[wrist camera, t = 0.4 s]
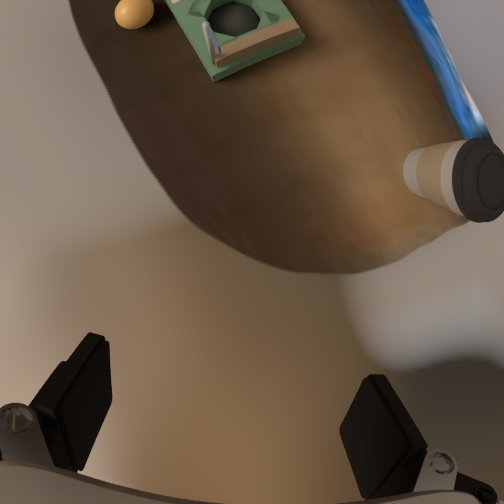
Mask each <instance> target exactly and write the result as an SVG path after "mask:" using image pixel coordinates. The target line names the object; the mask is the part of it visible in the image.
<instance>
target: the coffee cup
mask: <svg viewBox="0 0 504 504" xmlns="http://www.w3.org/2000/svg"><path fill="white" fill-rule="evenodd" d="M403 176H404V180H405V183H406V185H407V187H408V188H409V190H410V191H411V192H412V193H414V194H415V195H417V196H420V197H422V198H425V199H427V200H429V201H430V202H432V203H434V204H436V205H439V206H441V207H443V208H445V209H448V210H450V211H452V212H454V213H456V214H458V215H461V216H465V217H466V218H468V219H469V220H471V221H474V222H478V223H479V222H490V221H493V220H495V219H496V218H498V217H499V216H500V215H501V214H502V213H503V211H504V154H503V153H502V152H501V150H500V149H499V148H498V147H497V146H496V145H495V144H494V143H492V142H491V141H488V140H486V139H483V138H472V139H470V140H468V141H467V140H461V141H454V142H448V143H442V144H437V145H432V146H429V147H424V148H418V149H415V150H413V151H411V152H410V153H409V154H408V156H407V157H406V159H405V162H404V165H403Z"/></svg>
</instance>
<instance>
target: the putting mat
mask: <svg viewBox="0 0 504 504" xmlns="http://www.w3.org/2000/svg"><path fill="white" fill-rule="evenodd" d="M164 1H165V2H166V4H167V5H168V7H169V9H170V10H171V12H172V13H173V15H174V17H175V18H176V20H177V21H178V23H179V25H180V26H181V28H182V30H183V31H184V33H185V35H186V36H187V38H188V40H189V41H190V43H191V45H192V46H193V48H194V50H195V51H196V53H197V55H198V56H199V58H200V60H201V61H202V63H203V65H204V67H205V68H206V70H207V72H208V73H209V75H210V77H211V79H212V80H213V82H216V81H218V80H220V79H222V78H224V77H226V76H228V75H231V74H233V73H235V72H237V71H239V70H241V69H243V68H246V67H248V66H250V65H252V64H255V63H257V62H259V61H262V60H264V59H266V58H269V57H271V56H274V55H276V54H278V53H281V52H284V51H286V50H289V49H291V48H294V47H297V46H299V45H301V44H302V42H303V40H304V38H305V35H304V33H303V32H302V30H301V29H300V27H299V26H298V24H297V23H296V21H295V20H294V18H293V17H292V15H291V14H290V12H289V11H288V9H287V8H286V6H285V5H284V4H283V2H282V1H281V0H164ZM230 2H234V3H239V4H228V3H230ZM225 4H227V5H225ZM242 4H243V5H242ZM223 5H224V6H223ZM245 5H247V6H251V7H253V9H254V10H255V12H256V13H257V15H258V16H259V18H260V19H261V20H260V22H259V25H258V18H257V15H256V14H255V12H254V11H253V10H252V9H251V8H249V7H247V6H245ZM218 7H220V8H218ZM216 8H218V9H217V10H216V11H215V12H214V13H213V14H212V16H211V18H210V24H209V22H208V20H209V17H210V15H211V13H212V11H213V10H214V9H216Z"/></svg>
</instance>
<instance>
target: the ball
mask: <svg viewBox="0 0 504 504" xmlns="http://www.w3.org/2000/svg"><path fill="white" fill-rule="evenodd" d="M153 13H154V5H153V2H152V1H151V0H121V1H120V2H119V4H118V5H117V7H116V10H115V19H116V21H117V23H118V24H119V25H120V26H122V27H124V28H126V29H137V28H140V27H142V26H144V25H145V24H147V23H148V22H149V21H150V19H151V18H152V16H153Z"/></svg>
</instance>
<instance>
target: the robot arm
mask: <svg viewBox="0 0 504 504" xmlns="http://www.w3.org/2000/svg"><path fill="white" fill-rule="evenodd" d="M111 402H112V386H111V370H110V347H109V342H108V341H105V337H104V336H102V335H98V334H94V333H91V332H89V333H88V334H87V335H86V336H85V338H84V339H83V340H82V341H81V343H80V344H79V345H78V347H77V348H76V349H75V351H74V352H73V353H72V355H71V356H70V357H69V359H68V360H67V361H66V362H65V361H62V362H61V363H60V364H59V365H58V366H57V367H56V369H55V370H54V371H53V373H52V374H51V375H50V377H49V378H48V380H47V381H46V382H45V384H44V385H43V386H42V388H41V389H40V390H39V392H38V393H37V394H36V396H35V397H34V399H33V400H32V402H31V403H30V404H29V406H27V405H25V404H21V403H10V404H6V405H4V406H3V407H1V408H0V504H222V503H212V502H204V501H196V500H188V499H182V498H176V497H170V496H165V495H160V494H155V493H150V492H145V491H140V490H137V489H132V488H128V487H124V486H120V485H116V484H113V483H109V482H106V481H102V480H99V479H95V478H92V477H89V476H85V475H82V474H78V473H77V471H78V470H80V471H82V470H83V469H84V467H85V464H86V462H87V459H88V457H89V454H90V452H91V450H92V447H93V445H94V442H95V440H96V438H97V435H98V433H99V431H100V428H101V426H102V424H103V422H104V419H105V417H106V415H107V413H108V410H109V408H110V406H111ZM339 431H340V436H341V439H342V442H343V445H344V448H345V450H346V453H347V456H348V459H349V462H350V465H351V468H352V471H353V473H354V476H355V479H356V482H357V485H358V488H359V491H360V494H361V496H362V498H364V499H366V500H363V501H355V502H347V503H338V504H504V502H503V501H501V500H500V501H499V502H497V494H496V492H495V490H494V489H493V488H492V487H491V486H489V485H488V484H486V483H483V482H481V481H478V480H476V479H473V478H471V477H468V476H466V475H464V474H461V473H459V472H457V470H458V464H457V461H456V460H455V458H454V457H453V456H452V455H451V454H450V453H448V452H446V451H444V450H440V449H437V450H436V449H435V450H431V451H429V452H427V451H426V448H427V447H428V445H427V443H426V441H425V440H424V438H423V436H422V435H421V433H420V431H419V430H418V428H417V427H416V425H415V423H414V422H413V420H412V418H411V417H410V415H409V413H408V412H407V410H406V408H405V407H404V405H403V404H402V402H401V400H400V399H399V397H398V396H397V394H396V392H395V391H394V389H393V388H392V386H391V384H390V383H389V382H388V380H387V378H386V376H385V375H383V374H382V375H381V374H379V375H378V374H370V375H369V376H368V377H367V378H364V379H363V381H362V383H361V385H360V387H359V390H358V392H357V394H356V396H355V398H354V400H353V402H352V404H351V406H350V408H349V410H348V412H347V414H346V416H345V418H344V420H343V422H342V424H341V426H340V430H339Z"/></svg>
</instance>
